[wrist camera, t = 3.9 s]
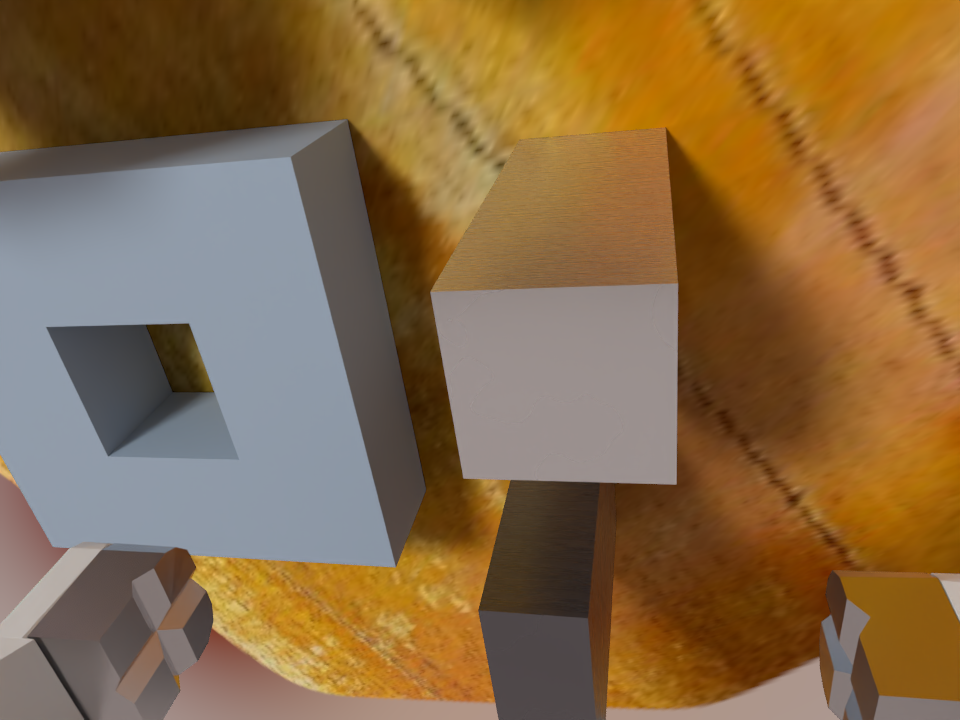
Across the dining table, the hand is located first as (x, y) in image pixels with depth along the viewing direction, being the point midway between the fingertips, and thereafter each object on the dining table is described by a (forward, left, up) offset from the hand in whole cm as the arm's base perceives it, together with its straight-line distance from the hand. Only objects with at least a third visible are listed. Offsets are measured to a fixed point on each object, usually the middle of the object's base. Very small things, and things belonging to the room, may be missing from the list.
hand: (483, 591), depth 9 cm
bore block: (+13, +4, -14) cm, 20 cm away
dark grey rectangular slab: (0, +9, -14) cm, 17 cm away
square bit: (-1, 0, -14) cm, 14 cm away
